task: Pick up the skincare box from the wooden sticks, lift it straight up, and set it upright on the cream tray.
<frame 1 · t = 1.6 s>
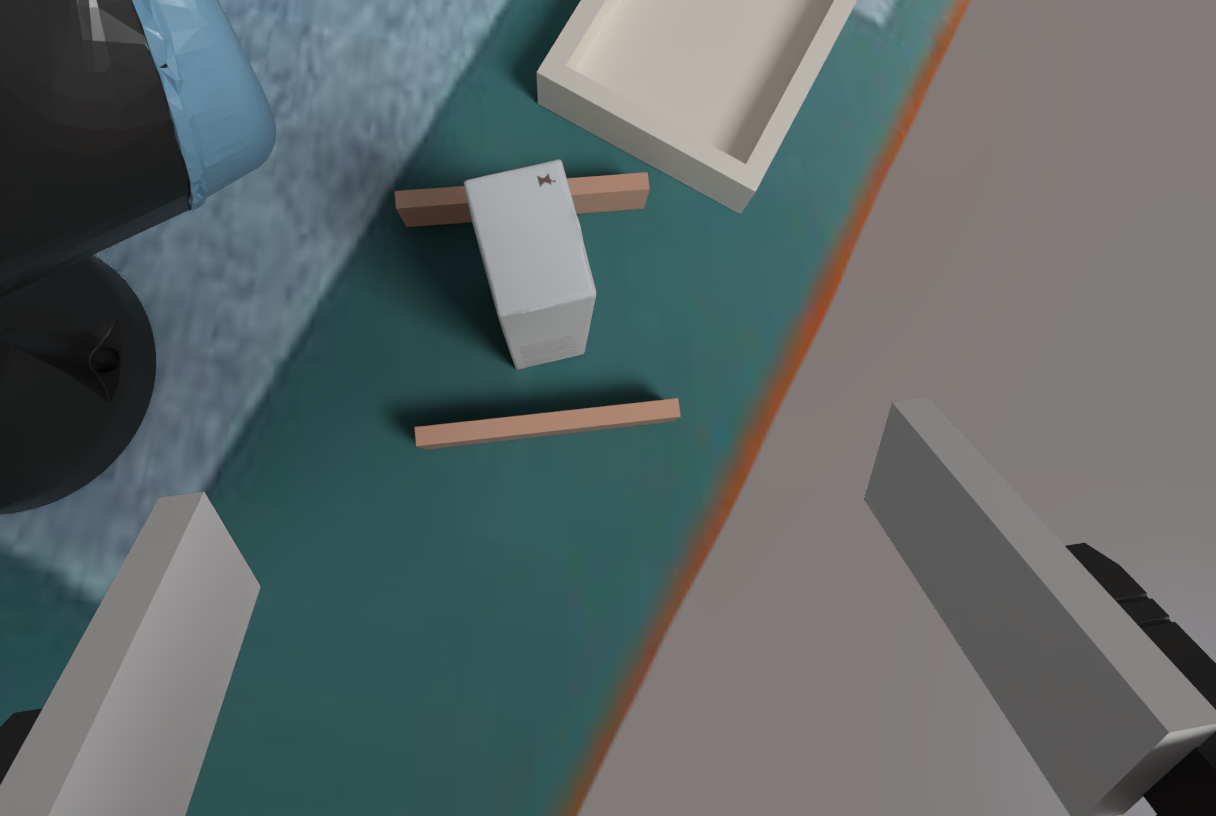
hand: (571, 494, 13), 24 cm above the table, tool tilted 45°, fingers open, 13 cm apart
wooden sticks: (538, 315, 37), on the table
skincare box: (538, 316, 38), on the table
cream tray: (712, 31, 41), on the table
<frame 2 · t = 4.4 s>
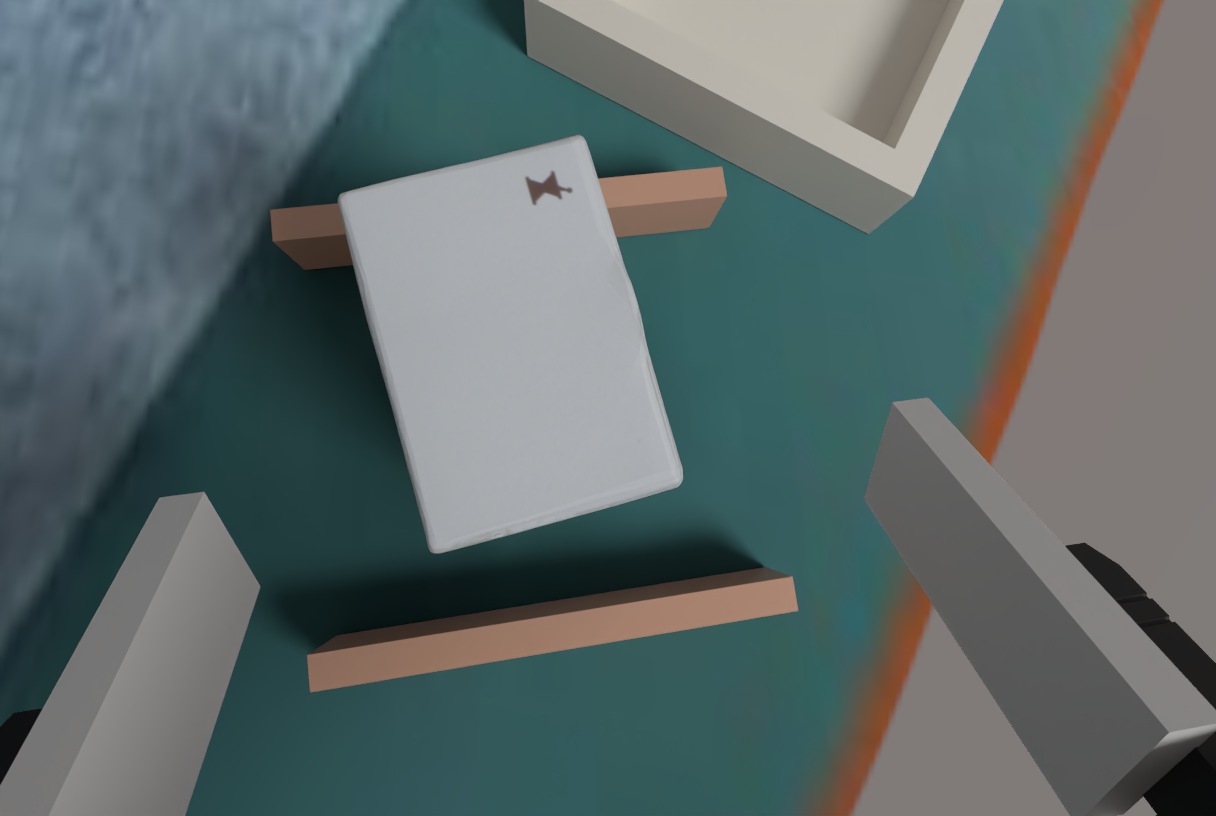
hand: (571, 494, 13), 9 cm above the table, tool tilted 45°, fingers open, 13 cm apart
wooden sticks: (534, 418, 22), on the table
skincare box: (535, 419, 22), on the table
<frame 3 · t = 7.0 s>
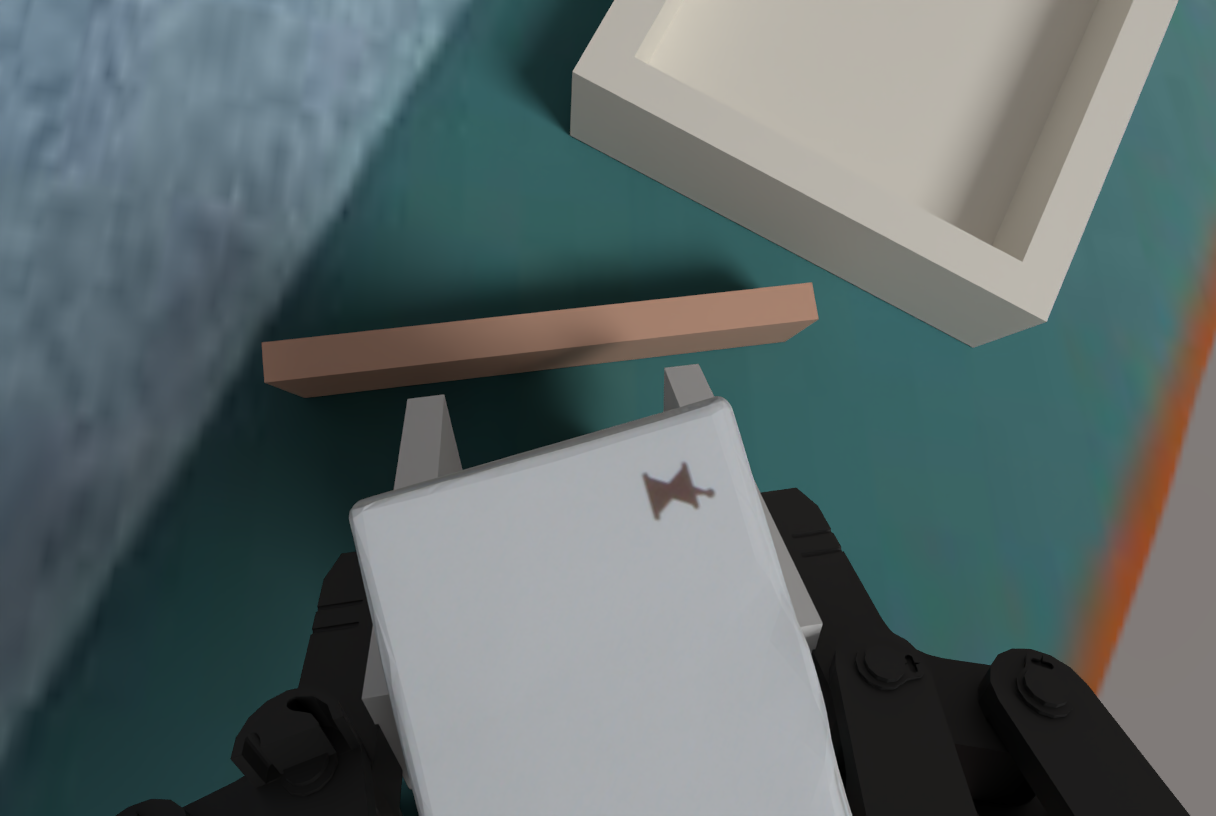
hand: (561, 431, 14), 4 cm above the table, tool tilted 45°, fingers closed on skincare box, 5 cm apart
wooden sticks: (579, 578, 18), on the table
skincare box: (579, 577, 18), on the table, touching gripper
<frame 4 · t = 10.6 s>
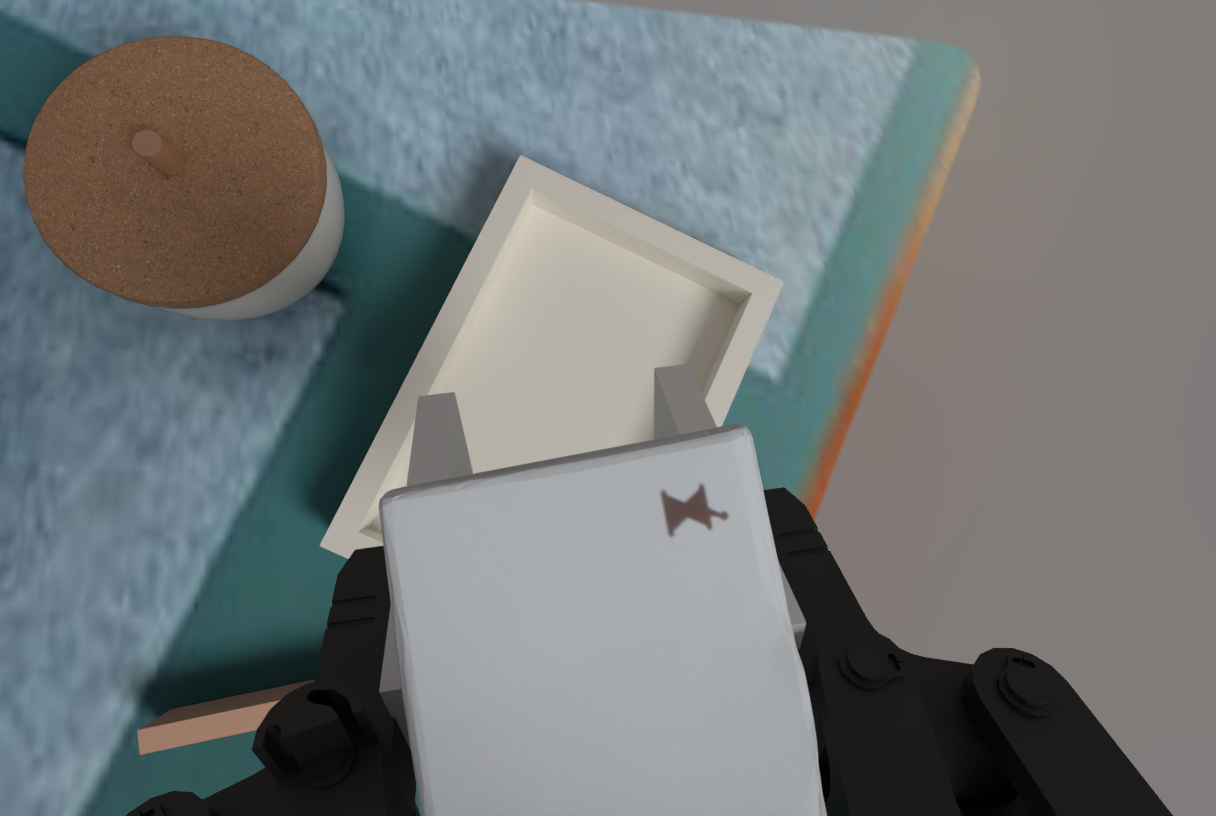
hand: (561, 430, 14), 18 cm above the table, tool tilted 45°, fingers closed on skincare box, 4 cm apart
skincare box: (577, 581, 18), point 14 cm above the table, touching gripper
cream tray: (563, 413, 33), on the table
lidded jar: (264, 241, 32), on the table
when the fingers open (6 cm above the table, at t = 14.4 s): skincare box drops 1 cm, resting on cream tray.
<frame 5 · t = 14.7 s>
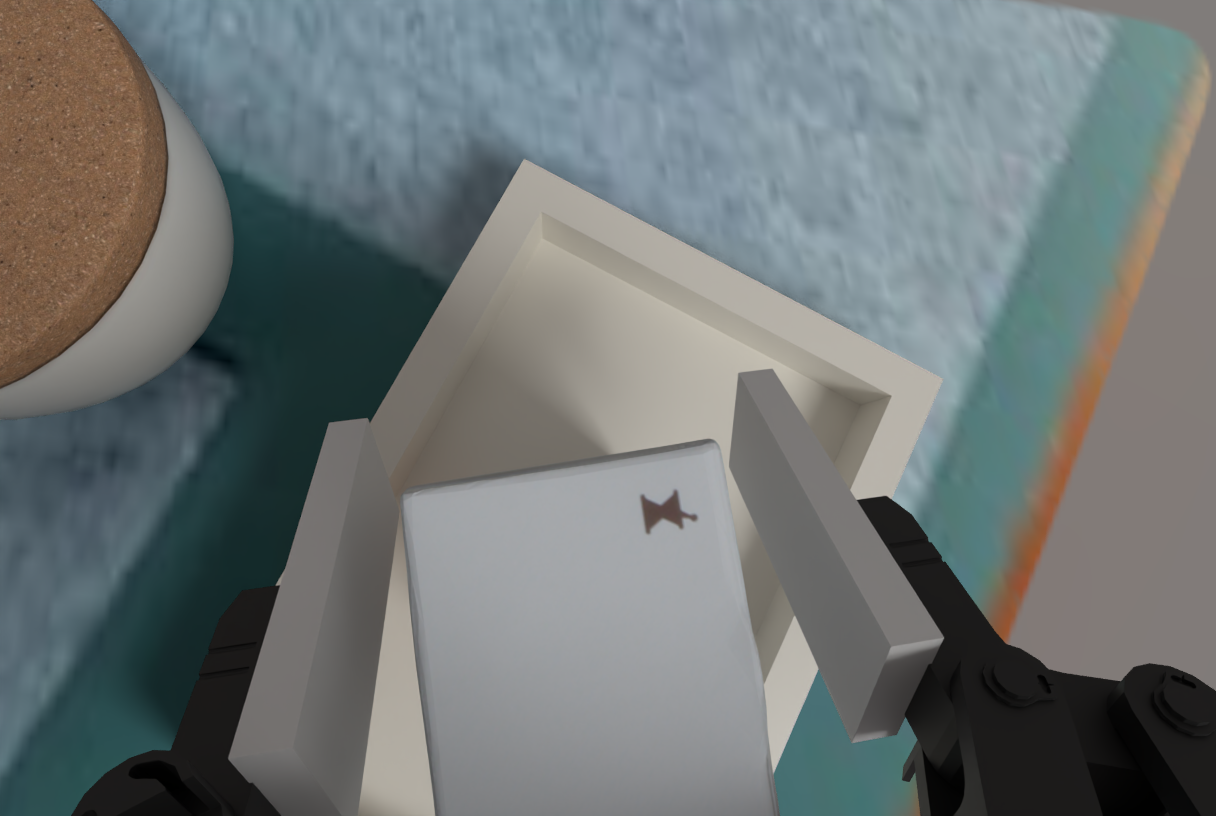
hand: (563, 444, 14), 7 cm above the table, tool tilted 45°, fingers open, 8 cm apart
skincare box: (573, 576, 20), point 1 cm above the table, touching cream tray
cream tray: (574, 567, 20), on the table
lidded jar: (122, 278, 21), on the table
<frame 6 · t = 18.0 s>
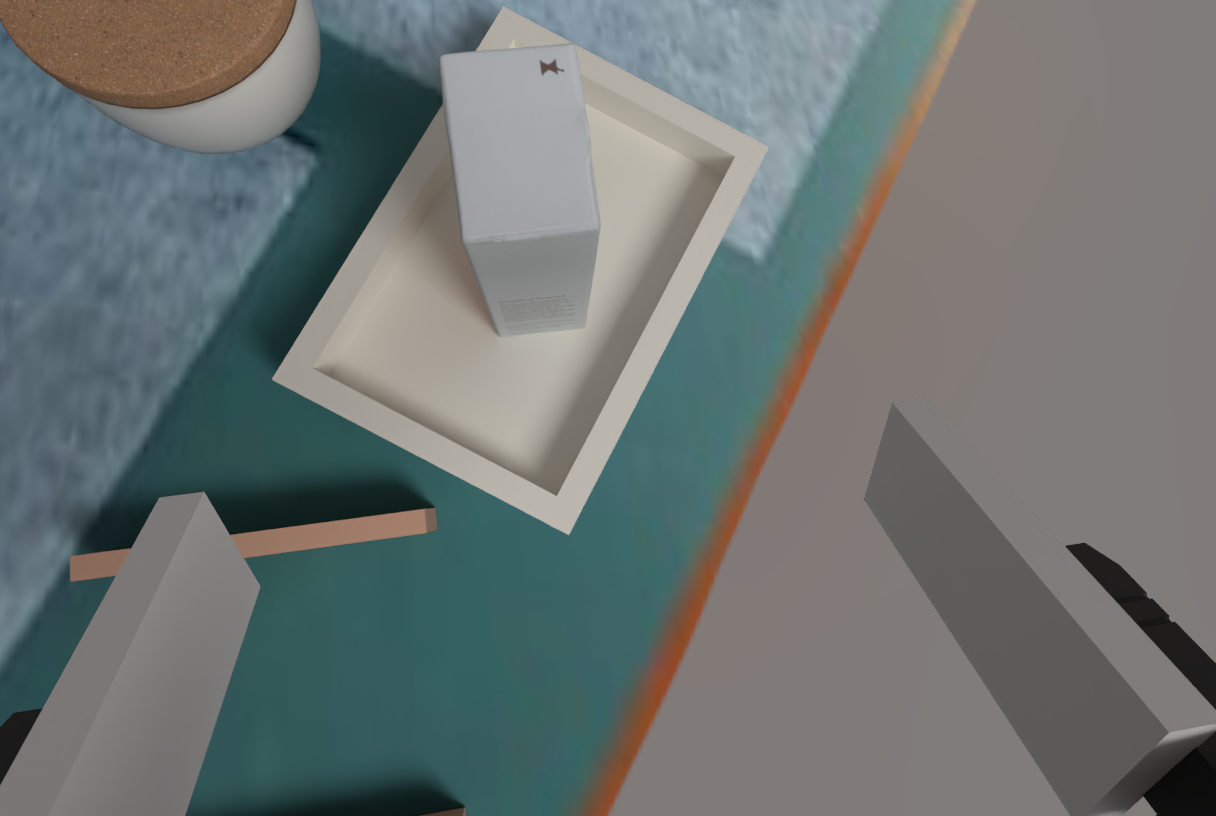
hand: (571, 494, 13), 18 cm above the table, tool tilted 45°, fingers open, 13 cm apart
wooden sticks: (288, 690, 28), on the table
skincare box: (534, 277, 31), point 1 cm above the table, touching cream tray
cream tray: (536, 279, 32), on the table
lidded jar: (242, 92, 32), on the table
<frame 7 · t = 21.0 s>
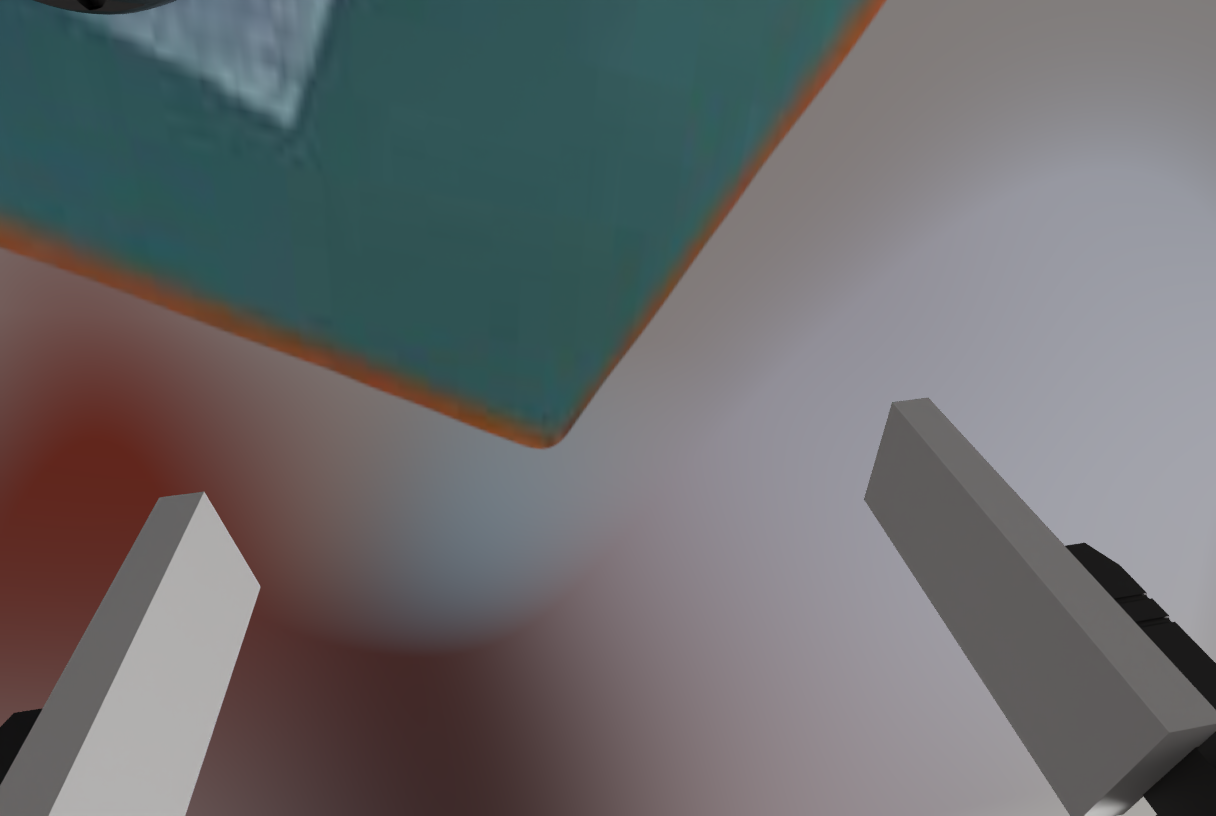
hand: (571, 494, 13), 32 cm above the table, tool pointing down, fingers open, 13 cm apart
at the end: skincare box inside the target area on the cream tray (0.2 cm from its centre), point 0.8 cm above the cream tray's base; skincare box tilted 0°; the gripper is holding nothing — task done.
